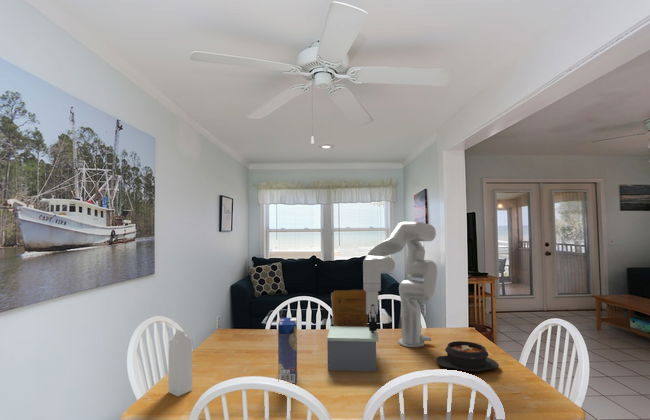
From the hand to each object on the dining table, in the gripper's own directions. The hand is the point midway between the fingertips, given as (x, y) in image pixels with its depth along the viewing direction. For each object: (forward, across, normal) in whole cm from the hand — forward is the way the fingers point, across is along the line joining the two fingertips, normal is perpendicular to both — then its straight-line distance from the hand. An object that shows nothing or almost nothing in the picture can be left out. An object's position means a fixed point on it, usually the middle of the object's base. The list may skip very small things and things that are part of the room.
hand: (372, 328), depth 158 cm
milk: (+15, +31, -71) cm, 79 cm away
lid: (+3, 0, -8) cm, 9 cm away
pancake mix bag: (+15, -22, -10) cm, 29 cm away
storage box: (+15, 0, -9) cm, 18 cm away
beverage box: (+15, +16, -34) cm, 41 cm away
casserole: (+15, 0, +39) cm, 42 cm away
